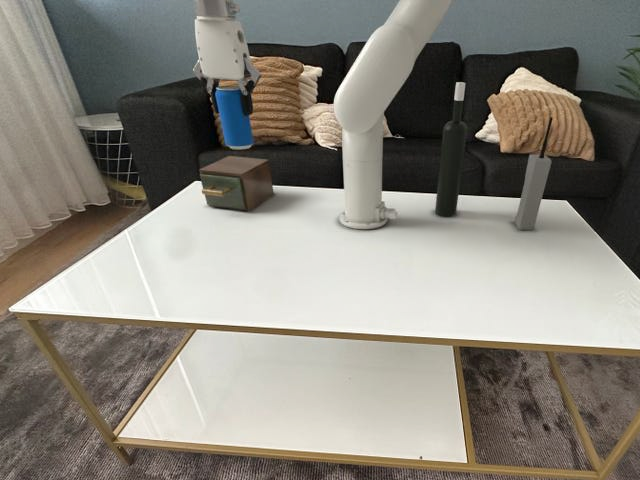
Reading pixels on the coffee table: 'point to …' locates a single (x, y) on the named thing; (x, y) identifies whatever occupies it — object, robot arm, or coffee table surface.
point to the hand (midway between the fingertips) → (234, 112)
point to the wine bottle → (451, 158)
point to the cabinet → (245, 178)
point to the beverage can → (233, 118)
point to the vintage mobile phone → (533, 187)
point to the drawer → (223, 190)
